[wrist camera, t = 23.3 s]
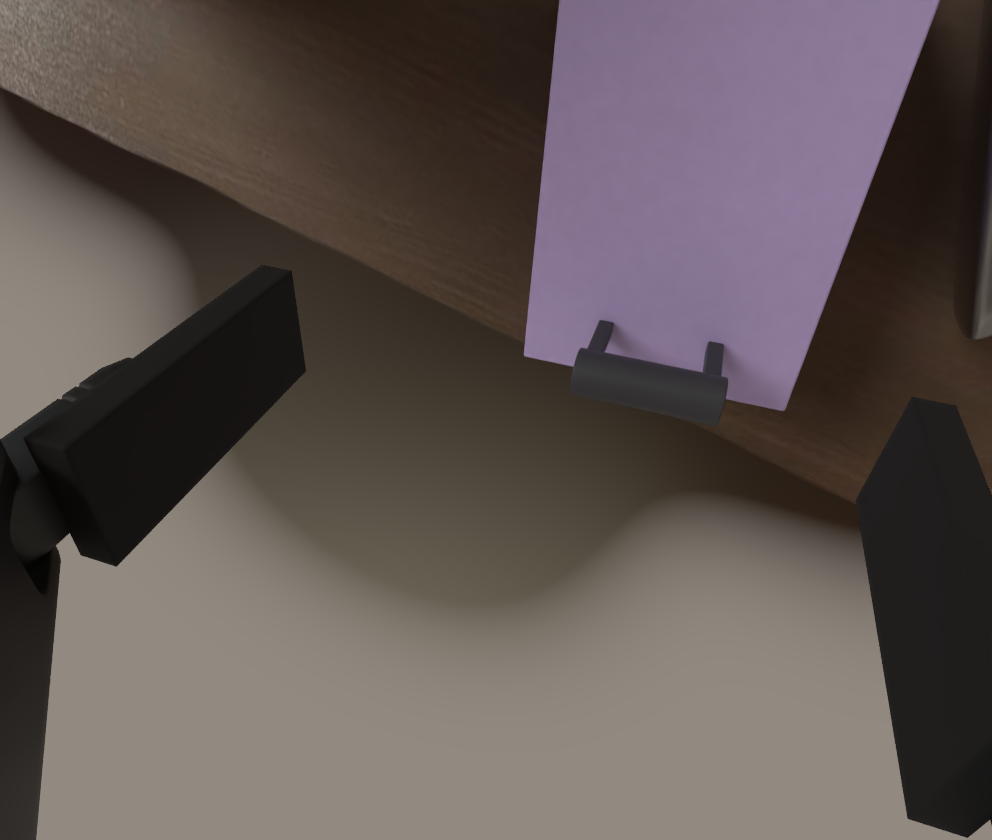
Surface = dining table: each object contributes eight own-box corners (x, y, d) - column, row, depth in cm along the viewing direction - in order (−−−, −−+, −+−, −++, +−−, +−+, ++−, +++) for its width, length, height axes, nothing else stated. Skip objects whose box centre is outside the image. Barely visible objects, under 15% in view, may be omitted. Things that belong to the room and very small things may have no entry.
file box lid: (784, 403, 32) (789, 485, 27) (527, 349, 34) (489, 414, 30) (950, -43, 22) (1009, -45, 17) (570, -71, 24) (524, -79, 19)
